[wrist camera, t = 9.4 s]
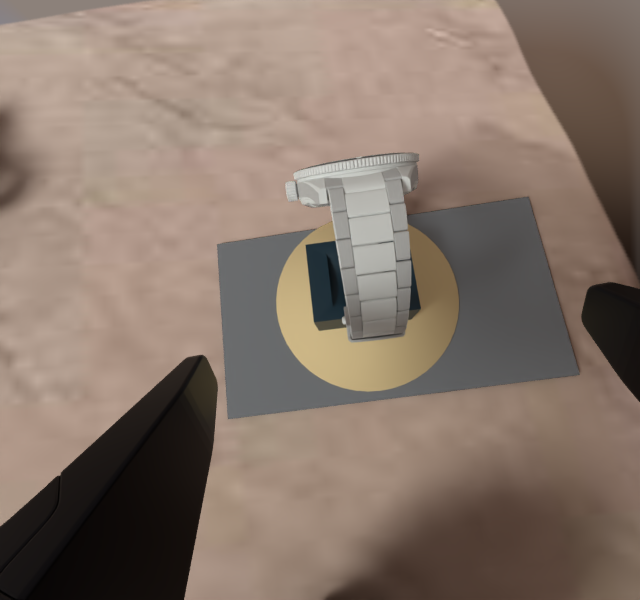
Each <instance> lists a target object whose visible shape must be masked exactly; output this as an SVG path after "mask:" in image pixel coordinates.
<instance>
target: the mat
mask: <svg viewBox="0 0 640 600" xmlns="http://www.w3.org/2000/svg"><path fill="white" fill-rule="evenodd" d="M407 223H408V230H407V231H409V241H410V250H411V256H412V262H413V267H414V273H415V278H416V284H417V289H418V295H419V300H420V306H421V310H420V311H419V312H418V313H417V314H416V315H415V316H414V317H413V318H412V319H411V320H408V322H407V328H406V330H405V335H404V336H403V337H397V338H390V339H383V340H375V341H366V342H354V343H351V342H350V341H349V340H348V335H347V328H339V329H331V330H323V331H319V330H318V328H317V327H316V325H315V323H314V320H313V310H312V301H311V292H310V283H309V274H308V264H307V255H306V246H305V245H307V244H314V243H322V242H329V241H335V240H336V239H335V233H334V228H333V221H331V222H329V223H327V224H325V225H323V226H321V227H319V228H318V229H314V230H307V231H301V232H294V233H288V234H281V235H275V236H268V237H262V238H255V239H249V240H242V241H235V242H229V243H222V244H217V250H218V267H219V283H220V299H221V315H222V331H223V347H224V364H225V380H226V396H227V412H228V419H233V418H241V417H249V416H256V415H264V414H272V413H280V412H288V411H296V410H304V409H312V408H320V407H328V406H336V405H344V404H352V403H360V402H368V401H376V400H384V399H392V398H400V397H408V396H415V395H423V394H431V393H439V392H447V391H455V390H463V389H471V388H479V387H487V386H495V385H503V384H511V383H519V382H527V381H535V380H543V379H551V378H559V377H567V376H574V375H580V374H579V370H578V367H577V363H576V360H575V356H574V353H573V350H572V346H571V343H570V339H569V336H568V332H567V329H566V325H565V322H564V318H563V315H562V311H561V308H560V305H559V301H558V298H557V294H556V291H555V287H554V284H553V280H552V277H551V273H550V270H549V266H548V263H547V260H546V256H545V253H544V249H543V246H542V242H541V239H540V235H539V232H538V228H537V225H536V221H535V218H534V215H533V211H532V208H531V204H530V201H529V197H523V198H517V199H510V200H504V201H497V202H491V203H484V204H477V205H471V206H464V207H458V208H451V209H445V210H438V211H432V212H425V213H419V214H412V215H407ZM400 232H401V231H400ZM393 233H394V232H393Z"/></svg>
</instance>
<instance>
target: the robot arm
mask: <svg viewBox="0 0 640 600" xmlns="http://www.w3.org/2000/svg"><path fill="white" fill-rule="evenodd" d="M582 322H583V325H584V327H585V328H586V330H587V331H588V333H589V334H590V335H591V337H592V338H593V340H594V341H595V343H596V344H597V346H598V347H599V349H600V350H601V352H602V353H603V354H604V356H605V357H606V359H607V360H608V362H609V363H610V365H611V366H612V368H613V369H614V371H615V372H616V373H617V375H618V376H619V377H620V379H621V380H622V381H623V383H624V384H625V385H626V386H627V388H628V389H629V390H630V391H631V392H632V394H633V395H634V396H635V397H636V398H637V399H638V401H639V402H640V289H638V288H634V287H630V286H626V285H621V284H617V283H613V282H608V283H602V284H596V285H593V286H591V287H590V288H589V289H588V291H587V294H586V298H585V302H584V307H583V311H582ZM217 392H218V384H217V380H216V377H215V375H214V373H213V371H212V369H211V366H210V364H209V362H208V360H207V358H206V357H205V356H203V355H197V356H192V357H187V358H186V359H184V360H183V361H182V362H181V363H180V364H179V365H178V366H177V367H176V368H175V369H174V370H172V371H171V372H170V373H169V374H168V375H167V376H166V377H165V378H164V379H163V380H162V381H160V382H159V383H158V384H157V385H156V386H155V387H154V388H153V389H152V390H151V391H150V392H148V393H147V394H146V395H145V396H144V397H143V398H142V399H141V400H140V401H139V402H137V403H136V404H135V405H134V406H133V407H132V408H131V409H130V410H129V411H128V412H127V413H125V414H124V415H123V416H122V417H121V418H120V419H119V420H118V421H117V422H116V423H115V424H113V425H112V426H111V427H110V428H109V429H108V430H107V431H106V432H105V433H104V434H103V435H101V436H100V437H99V438H98V439H97V440H96V441H95V442H94V443H93V444H92V445H91V446H89V447H88V448H87V449H86V450H85V451H84V452H83V453H82V454H81V455H80V456H78V457H77V458H76V459H75V460H74V461H73V462H72V463H71V464H70V465H69V466H68V467H66V468H65V469H64V470H63V471H62V472H61V475H60V476H57V477H55V478H54V479H53V480H52V481H51V482H50V483H49V484H48V485H47V486H46V487H45V488H44V489H42V490H41V491H40V492H39V493H38V494H37V495H36V496H35V497H34V498H32V499H31V500H30V501H29V502H28V503H27V504H26V505H25V506H23V507H22V508H21V509H20V510H19V511H18V512H17V513H16V514H14V515H13V516H12V517H11V518H10V519H9V520H8V521H6V522H5V523H4V524H3V525H2V526H0V600H184V597H185V592H186V587H187V581H188V576H189V571H190V566H191V560H192V555H193V550H194V545H195V540H196V534H197V529H198V524H199V519H200V514H201V508H202V503H203V498H204V493H205V488H206V482H207V477H208V472H209V467H210V462H211V456H212V450H213V443H214V432H215V419H216V405H217Z"/></svg>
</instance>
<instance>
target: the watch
mask: <svg viewBox="0 0 640 600" xmlns="http://www.w3.org/2000/svg"><path fill="white" fill-rule="evenodd" d="M418 161H419V154H417V153H388V154H379V155H371V156H363V157H357V158H350V159H344V160H339V161H333V162H328V163H323V164H319V165H315V166H311V167H308V168H305V169H302V170H299V171H296V172H295V173H294V179H295V180H297V184H296V182H295V181H290V182H286V194H287V198H288V201H289V202H290V201H297V200H298V197H299V200H301V203H302V205H305V206H308V207H324V206H330V209H331V215H332V220H333V228H334V233H335V239H336V240H335V241H329V242H322V243H314V244H307V245H305V246H306V255H307V264H308V274H309V283H310V292H311V301H312V310H313V320H314V323H315V325H316V327H317V328H318V330H319V331H323V330H331V329H339V328H347V335H348V340H349V341H350V342H351V343H354V342H366V341H375V340H383V339H390V338H397V337H403V336H404V335H405V330H406V328H407V322H408V320H411V319H412V318H413V317H414V316H415V315H416V314H417V313H418V312H419V311H420V310H421V306H420V300H419V295H418V289H417V284H416V278H415V273H414V267H413V262H412V256H411V250H410V241H409V231H407V230H408V223H407V214H406V206H405V203H404V196H403V195H405V194H408V193H410V192H411V191H413V190H415V189H416V187H417V184H418V168H417V163H416V162H418ZM400 231H401V232H400ZM393 232H394V233H393Z"/></svg>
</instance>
